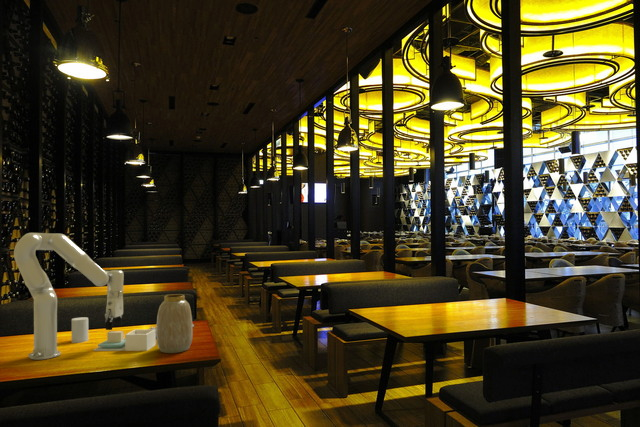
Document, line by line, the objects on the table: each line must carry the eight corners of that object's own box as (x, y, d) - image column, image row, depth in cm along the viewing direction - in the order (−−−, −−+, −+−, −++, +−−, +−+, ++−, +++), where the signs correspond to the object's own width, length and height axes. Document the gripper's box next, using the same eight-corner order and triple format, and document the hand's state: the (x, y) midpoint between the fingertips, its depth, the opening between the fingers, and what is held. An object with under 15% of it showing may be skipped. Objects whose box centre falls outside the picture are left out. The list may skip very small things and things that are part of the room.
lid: (121, 348, 232) (121, 334, 232) (98, 349, 232) (98, 334, 232) (132, 342, 244) (132, 329, 244) (109, 342, 244) (109, 329, 244)
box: (146, 350, 230) (146, 334, 230) (125, 350, 230) (125, 334, 230) (155, 344, 241) (155, 329, 241) (134, 345, 241) (134, 329, 241)
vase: (199, 346, 237) (198, 293, 238) (180, 355, 220) (180, 298, 221) (169, 344, 242) (169, 292, 242) (149, 353, 225) (149, 297, 226)
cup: (91, 339, 256) (91, 317, 256) (82, 342, 247) (82, 320, 248) (77, 338, 256) (77, 317, 257) (68, 342, 248) (68, 320, 249)
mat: (123, 350, 230) (123, 349, 230) (93, 350, 231) (93, 349, 231) (136, 343, 245) (136, 342, 245) (108, 343, 246) (108, 342, 246)
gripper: (114, 296, 230) (112, 331, 229) (129, 292, 247) (128, 324, 246) (99, 296, 230) (97, 331, 229) (115, 292, 247) (114, 324, 247)
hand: (113, 327), depth 238 cm, fingers open, 9 cm apart
